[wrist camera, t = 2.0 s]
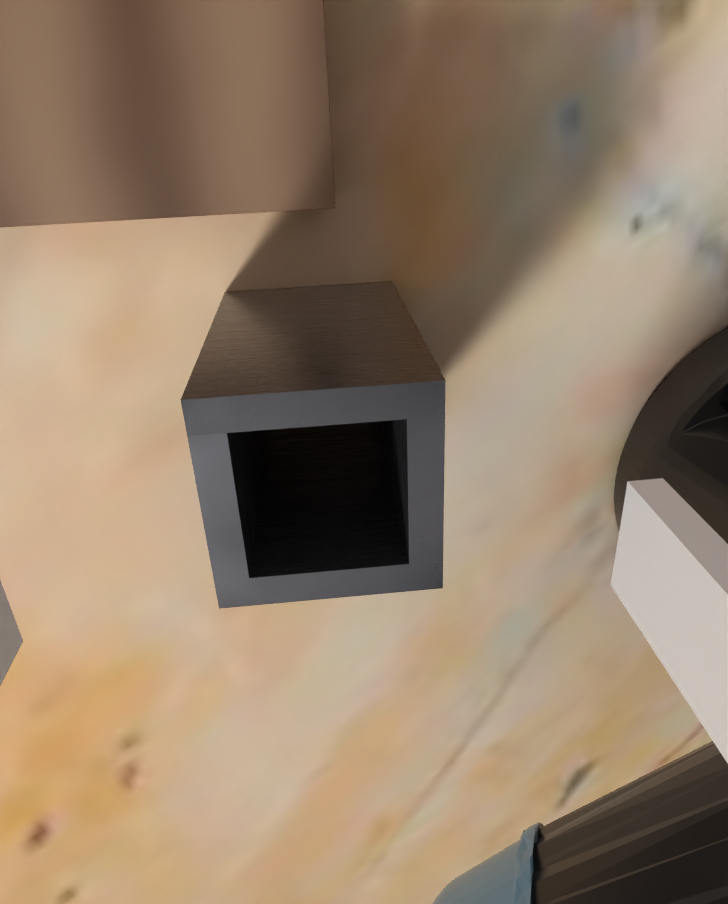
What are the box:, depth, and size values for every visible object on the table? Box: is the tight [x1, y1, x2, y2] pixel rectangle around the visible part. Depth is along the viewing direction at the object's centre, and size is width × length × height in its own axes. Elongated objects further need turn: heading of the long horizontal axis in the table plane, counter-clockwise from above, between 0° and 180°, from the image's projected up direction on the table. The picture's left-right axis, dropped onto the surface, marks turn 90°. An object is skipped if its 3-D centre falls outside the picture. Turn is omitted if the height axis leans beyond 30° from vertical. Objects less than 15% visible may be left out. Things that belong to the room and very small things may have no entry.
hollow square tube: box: [181, 281, 445, 608], centre depth 21 cm, size 6×6×10 cm
